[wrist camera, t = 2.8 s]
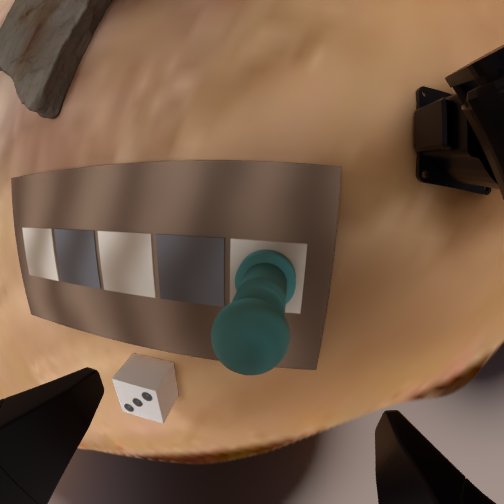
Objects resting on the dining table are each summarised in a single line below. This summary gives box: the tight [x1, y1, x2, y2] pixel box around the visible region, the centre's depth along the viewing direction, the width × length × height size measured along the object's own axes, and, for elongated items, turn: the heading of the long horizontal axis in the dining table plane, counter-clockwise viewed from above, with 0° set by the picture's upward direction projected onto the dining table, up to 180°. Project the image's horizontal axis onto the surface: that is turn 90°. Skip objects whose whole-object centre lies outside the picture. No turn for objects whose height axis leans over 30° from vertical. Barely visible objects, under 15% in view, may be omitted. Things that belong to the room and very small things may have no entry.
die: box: [112, 353, 178, 423], centre depth 22 cm, size 4×4×4 cm
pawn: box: [211, 250, 296, 375], centre depth 14 cm, size 4×4×8 cm
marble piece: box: [0, 0, 112, 118], centre depth 14 cm, size 17×15×4 cm
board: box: [11, 160, 341, 370], centre depth 20 cm, size 28×14×1 cm, turn 88°
